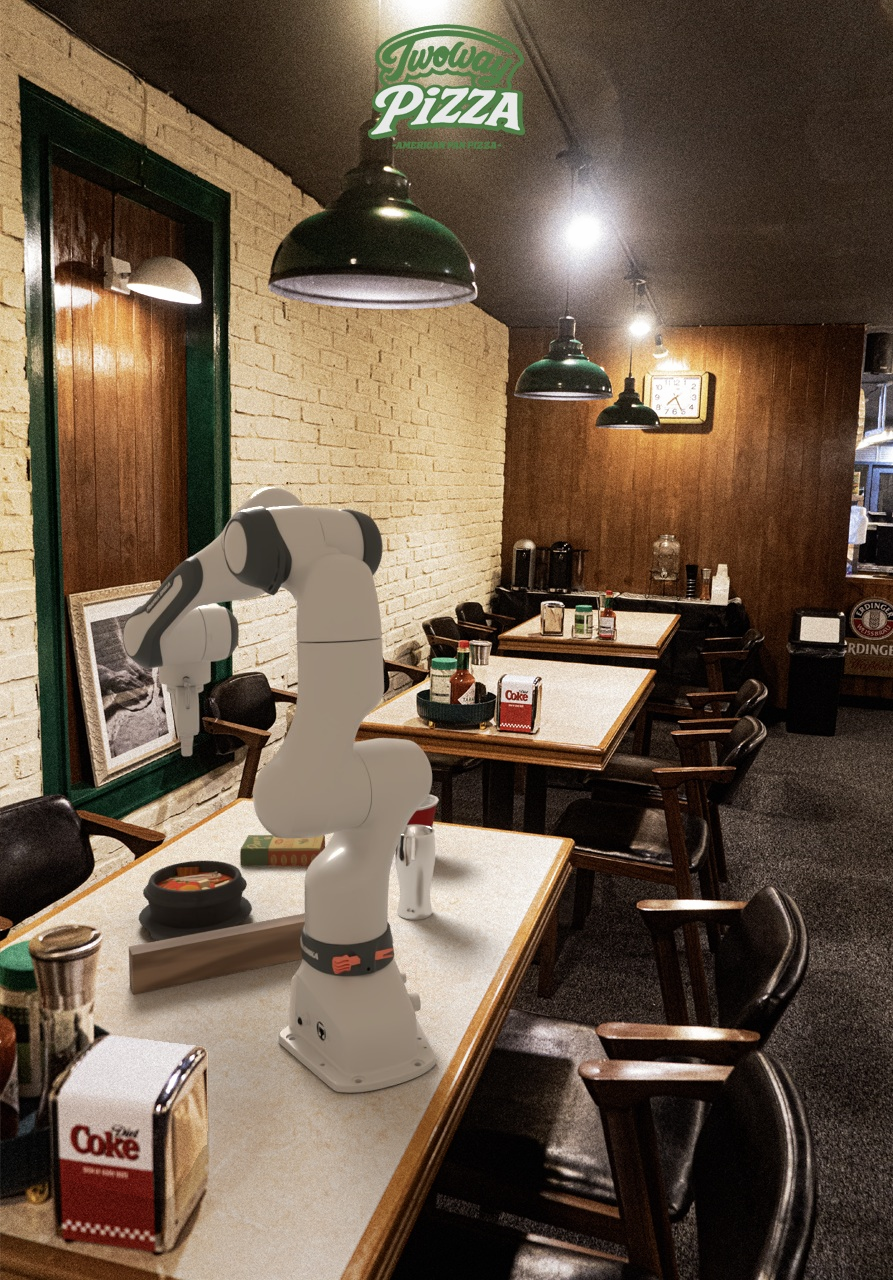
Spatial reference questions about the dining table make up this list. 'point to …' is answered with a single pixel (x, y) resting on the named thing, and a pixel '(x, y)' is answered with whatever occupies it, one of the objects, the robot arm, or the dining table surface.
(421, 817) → the plastic cup
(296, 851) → the carton
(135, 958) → the walnut board
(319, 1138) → the dining table surface
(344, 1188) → the dining table surface
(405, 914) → the beer glass
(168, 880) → the casserole
